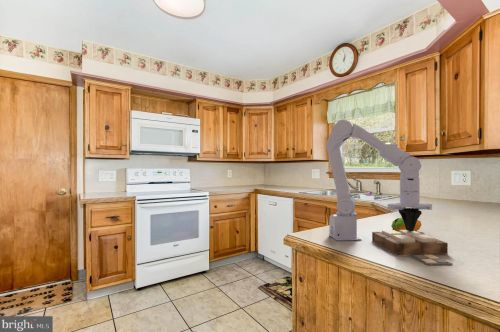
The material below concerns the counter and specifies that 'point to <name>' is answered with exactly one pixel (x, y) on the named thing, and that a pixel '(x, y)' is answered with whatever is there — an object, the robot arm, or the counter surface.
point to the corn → (403, 225)
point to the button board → (410, 246)
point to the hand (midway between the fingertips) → (409, 230)
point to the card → (430, 260)
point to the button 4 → (423, 238)
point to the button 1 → (390, 233)
